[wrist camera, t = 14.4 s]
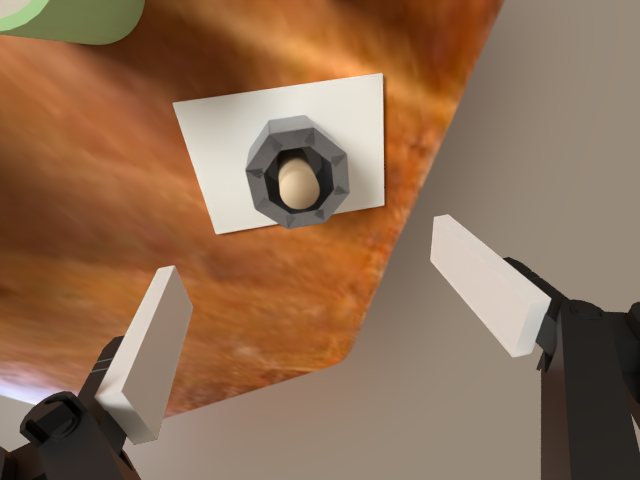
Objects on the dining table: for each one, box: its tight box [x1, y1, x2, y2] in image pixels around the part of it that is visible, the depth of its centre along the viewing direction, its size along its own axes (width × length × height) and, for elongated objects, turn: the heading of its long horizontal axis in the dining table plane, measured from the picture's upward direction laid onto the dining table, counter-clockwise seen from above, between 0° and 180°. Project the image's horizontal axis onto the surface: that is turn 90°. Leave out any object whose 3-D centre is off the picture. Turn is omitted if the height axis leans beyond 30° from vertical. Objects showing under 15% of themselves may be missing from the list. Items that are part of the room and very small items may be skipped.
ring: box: [245, 115, 350, 229], centre depth 30 cm, size 9×9×7 cm
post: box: [277, 148, 320, 209], centre depth 29 cm, size 3×3×9 cm
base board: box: [172, 73, 384, 234], centre depth 33 cm, size 20×14×1 cm
